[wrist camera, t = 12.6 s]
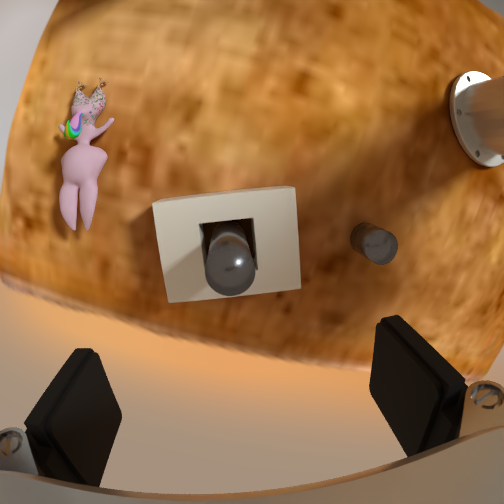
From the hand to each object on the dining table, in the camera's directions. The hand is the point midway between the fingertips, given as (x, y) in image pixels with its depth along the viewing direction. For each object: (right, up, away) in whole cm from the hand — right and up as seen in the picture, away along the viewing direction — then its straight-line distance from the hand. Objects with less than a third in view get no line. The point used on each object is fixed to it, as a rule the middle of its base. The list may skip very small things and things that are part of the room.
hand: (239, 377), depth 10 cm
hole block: (-2, +5, +21) cm, 22 cm away
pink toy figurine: (-16, +14, +18) cm, 28 cm away
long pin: (-2, +5, +21) cm, 22 cm away
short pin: (+12, +5, +22) cm, 26 cm away
